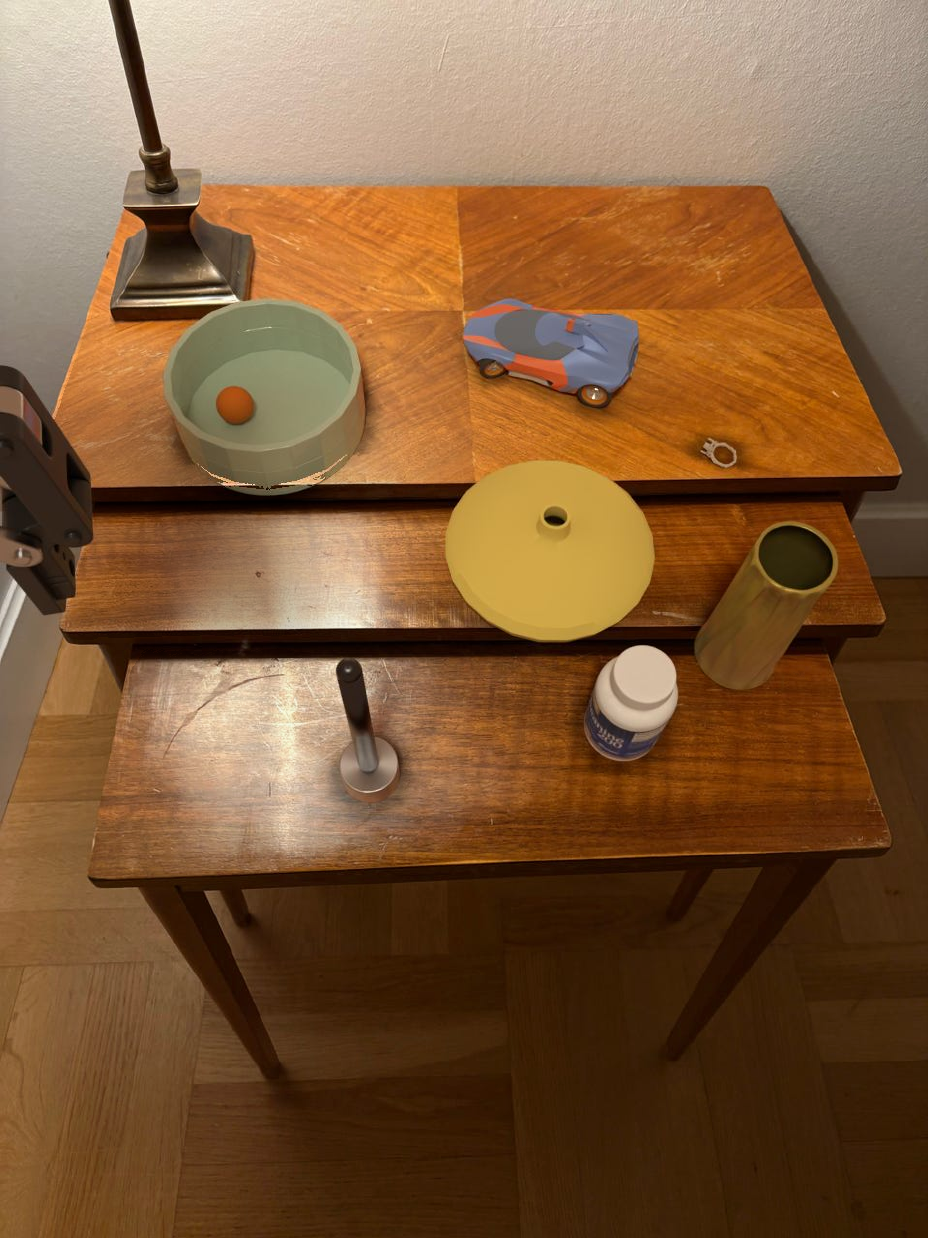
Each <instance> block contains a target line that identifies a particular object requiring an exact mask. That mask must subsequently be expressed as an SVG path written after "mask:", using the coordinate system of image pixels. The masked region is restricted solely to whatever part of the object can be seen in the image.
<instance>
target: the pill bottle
mask: <svg viewBox="0 0 928 1238" xmlns="http://www.w3.org/2000/svg"><path fill="white" fill-rule="evenodd" d="M678 700H679V689H678V684H677V670H676V667H675V665H674V662H673V661H672V660H671V658H670V657H669V656H668V655H667V654H666V653H665V652H663V651H662V650H661V649H658V648H656V647H655V646H650V645H645V644H644V645H643V644H642V645H641V644H640V645H634V646H632V647H628V648H626V649H625V650H624V651H622V652H621V653H620V654H619V655H618V656H616V657H614V658H612V659H611V660H609V661H608V662H607V663H606V664H605V665H604V666H603V668H602V669H601V670H600V672H599V673H598V675H597V678H596V682H595V684H594V687H593V689H592V692H591V695H590V697H589V701H588V704H587V706H586V709H585V712H584V717H583V730H584V733H585V736H586V739H587V741H588V743H589V744H590V745H591V748H593V749H594V750H595V751H596V752H598V753H599V754H600V755H601V756H602V757H604V758H607V759H609V760H612V761H617V762H631V761H635V760H637V759H640V758H642V757H643V756H645V755H646V754H648V753H649V752H650V751H651V750H652V748H653V747H654V746H655V744H656V743H657V742H658V739H659V738H660V736H661V734H662V733H663V730H664V729H665V728H666V726H667V724H668V723H669V721H670V719H671V718H672V717H673V714H674V713H675V710H676V708H677V705H678Z"/></svg>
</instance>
